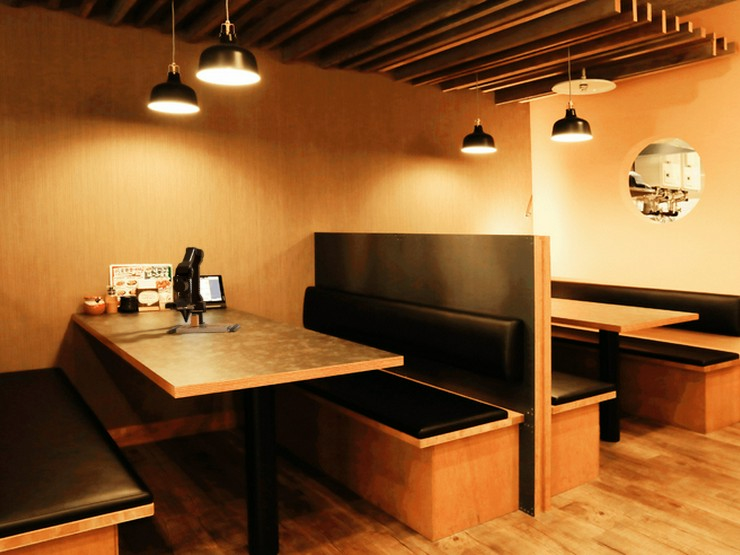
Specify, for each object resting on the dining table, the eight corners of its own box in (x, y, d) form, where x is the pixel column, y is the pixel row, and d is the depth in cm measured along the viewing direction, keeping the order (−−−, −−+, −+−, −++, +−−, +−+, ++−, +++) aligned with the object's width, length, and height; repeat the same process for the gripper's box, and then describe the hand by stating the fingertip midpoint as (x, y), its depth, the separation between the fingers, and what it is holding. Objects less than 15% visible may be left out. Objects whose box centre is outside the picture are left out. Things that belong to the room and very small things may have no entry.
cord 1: (175, 328, 316) (175, 325, 316) (181, 328, 316) (181, 325, 316) (165, 333, 299) (165, 330, 299) (172, 333, 299) (172, 330, 299)
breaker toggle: (192, 325, 310) (192, 314, 309) (198, 325, 310) (198, 313, 310) (190, 326, 306) (190, 315, 305) (197, 326, 306) (196, 314, 306)
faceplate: (184, 328, 315) (184, 324, 315) (232, 327, 316) (232, 322, 316) (176, 333, 300) (176, 328, 300) (227, 331, 301) (226, 327, 301)
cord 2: (235, 326, 318) (235, 323, 317) (241, 326, 318) (241, 323, 318) (229, 332, 300) (228, 328, 300) (235, 332, 300) (235, 328, 300)
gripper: (160, 292, 298) (162, 325, 299) (200, 292, 299) (201, 324, 300) (167, 290, 309) (168, 322, 310) (205, 289, 310) (206, 321, 311)
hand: (186, 322), depth 308 cm, fingers closed
